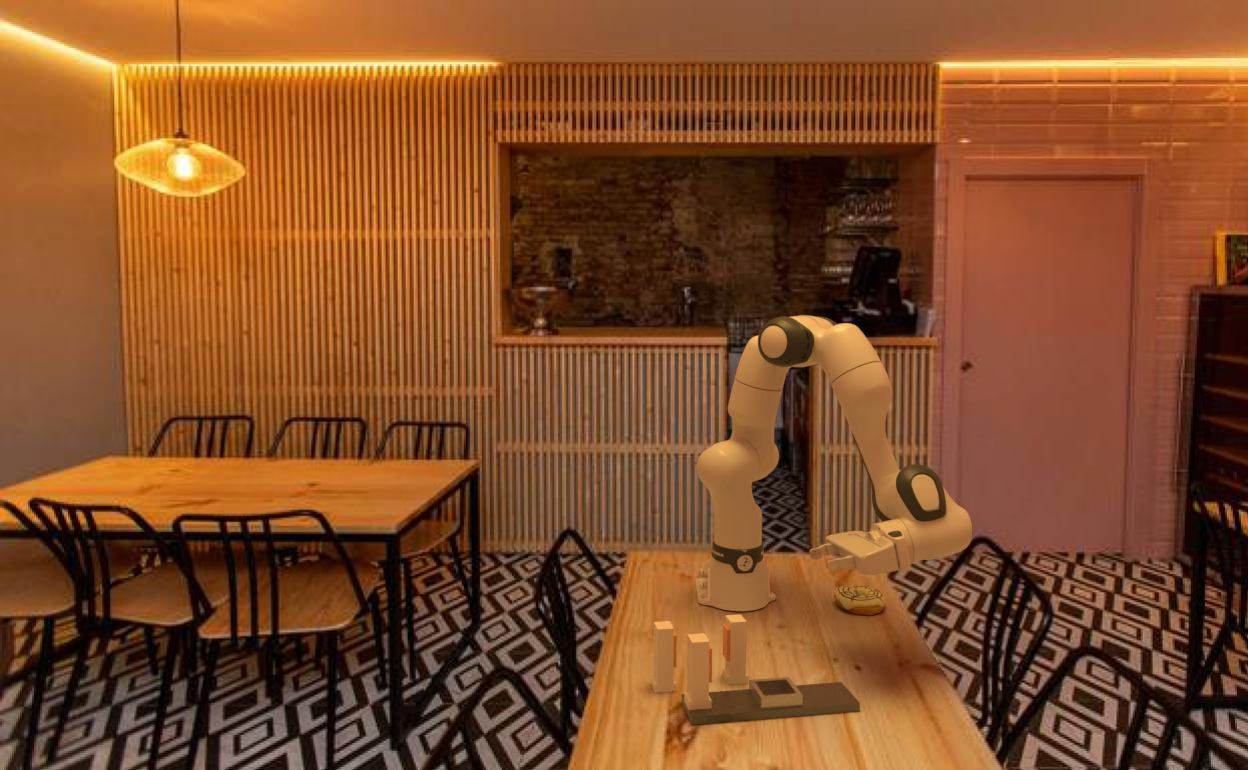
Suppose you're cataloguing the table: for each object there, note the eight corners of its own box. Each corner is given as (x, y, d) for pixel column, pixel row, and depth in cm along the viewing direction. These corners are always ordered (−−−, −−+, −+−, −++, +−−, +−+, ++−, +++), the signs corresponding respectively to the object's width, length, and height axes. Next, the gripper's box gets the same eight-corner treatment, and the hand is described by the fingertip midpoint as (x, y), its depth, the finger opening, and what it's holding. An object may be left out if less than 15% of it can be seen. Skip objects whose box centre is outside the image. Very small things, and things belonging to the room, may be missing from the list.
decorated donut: (843, 618, 187) (844, 600, 187) (827, 599, 199) (827, 582, 199) (892, 616, 188) (893, 598, 188) (873, 597, 200) (874, 581, 199)
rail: (681, 702, 148) (681, 683, 148) (840, 689, 153) (841, 671, 153) (691, 725, 141) (692, 705, 140) (859, 711, 145) (860, 692, 145)
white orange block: (651, 684, 155) (651, 622, 154) (672, 682, 156) (672, 620, 155) (654, 693, 152) (654, 629, 151) (676, 691, 153) (677, 628, 151)
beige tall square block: (721, 676, 159) (722, 615, 157) (742, 674, 159) (743, 614, 158) (727, 684, 155) (727, 622, 154) (748, 683, 156) (749, 621, 154)
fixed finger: (684, 700, 146) (684, 634, 145) (706, 698, 147) (707, 633, 145) (688, 710, 143) (689, 642, 141) (712, 708, 143) (712, 641, 142)
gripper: (864, 519, 169) (799, 533, 168) (908, 538, 149) (833, 554, 148) (870, 550, 169) (805, 564, 168) (914, 573, 149) (840, 589, 148)
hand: (818, 559), depth 158 cm, fingers open, 8 cm apart
